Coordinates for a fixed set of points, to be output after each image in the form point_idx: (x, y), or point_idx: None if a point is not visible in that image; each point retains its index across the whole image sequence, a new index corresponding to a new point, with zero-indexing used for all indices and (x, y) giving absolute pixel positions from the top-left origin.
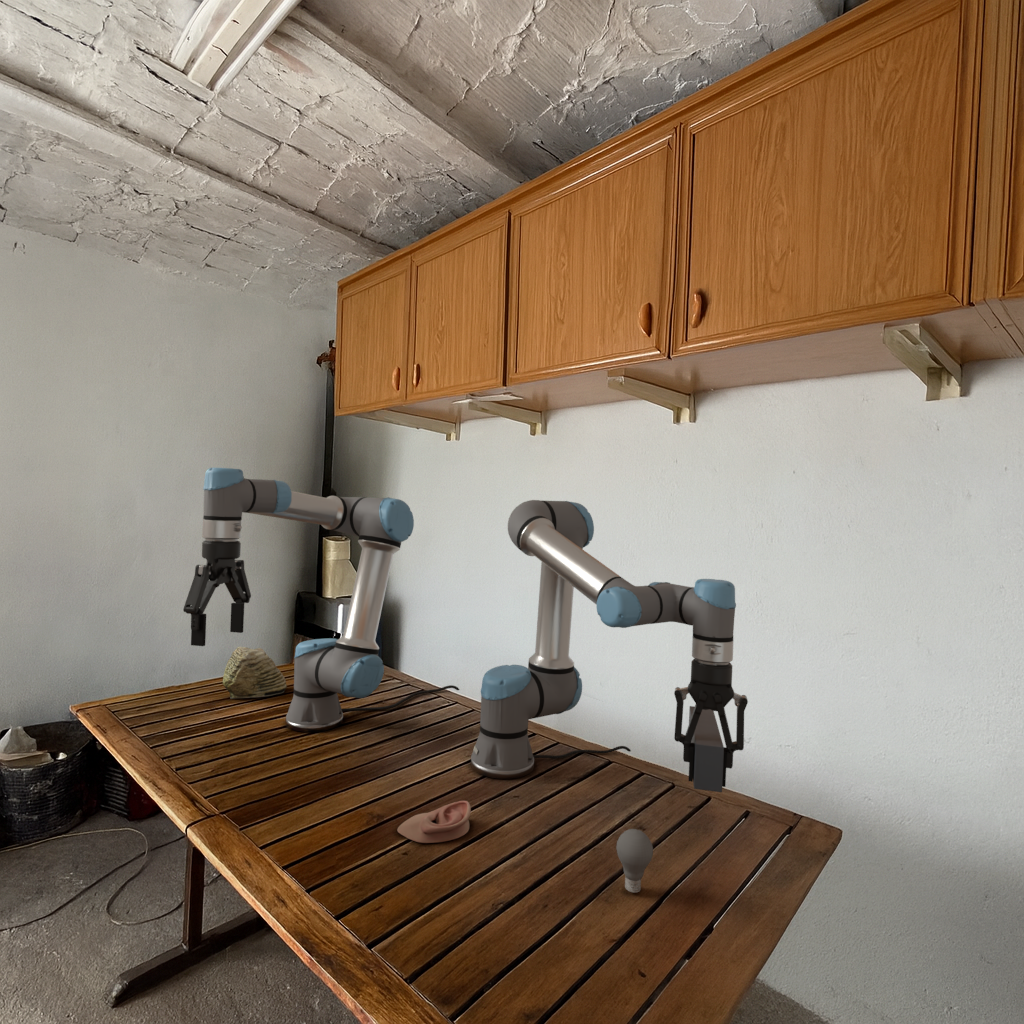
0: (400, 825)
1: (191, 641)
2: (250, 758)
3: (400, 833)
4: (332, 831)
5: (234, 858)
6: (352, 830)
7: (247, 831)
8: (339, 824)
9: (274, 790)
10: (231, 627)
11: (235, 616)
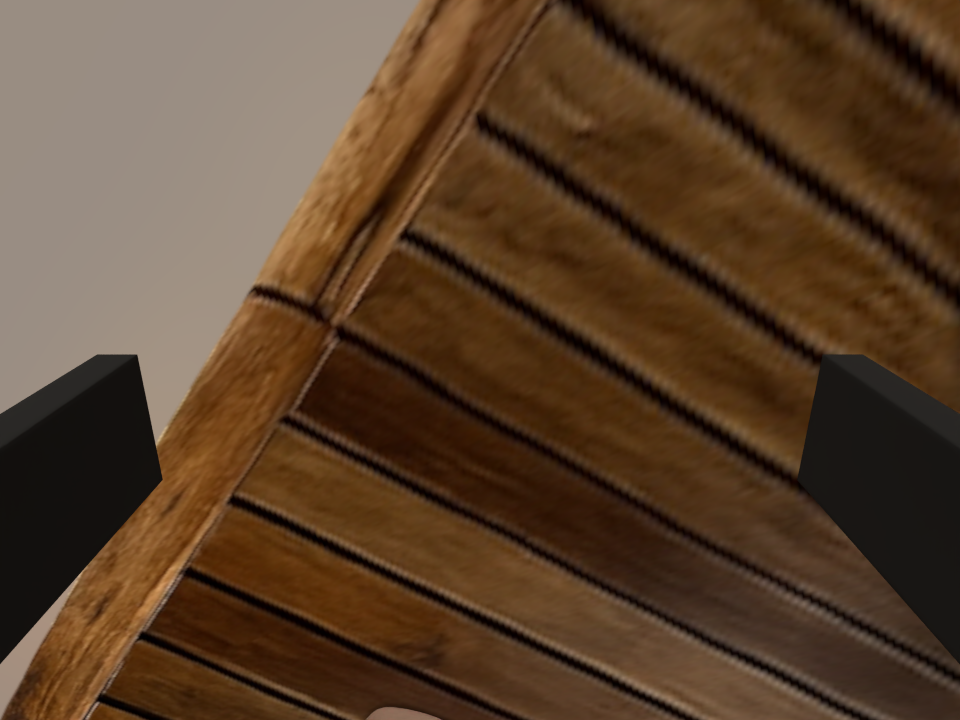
0: (391, 714)
1: (75, 374)
2: (702, 203)
3: (368, 717)
4: (343, 599)
5: (175, 470)
6: (360, 631)
7: (280, 438)
8: (376, 601)
9: (495, 394)
10: (850, 389)
11: (935, 519)
